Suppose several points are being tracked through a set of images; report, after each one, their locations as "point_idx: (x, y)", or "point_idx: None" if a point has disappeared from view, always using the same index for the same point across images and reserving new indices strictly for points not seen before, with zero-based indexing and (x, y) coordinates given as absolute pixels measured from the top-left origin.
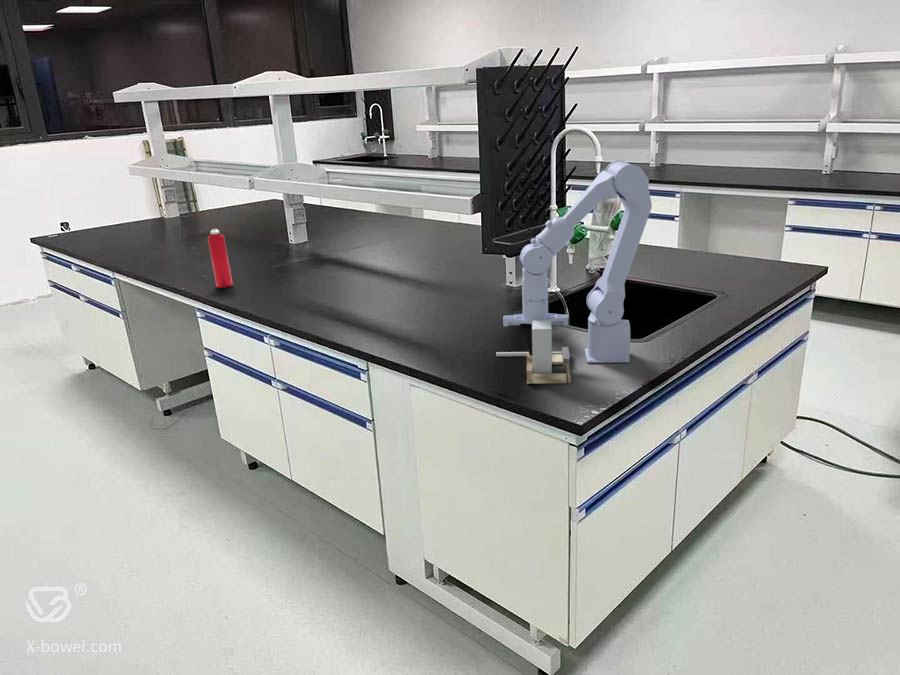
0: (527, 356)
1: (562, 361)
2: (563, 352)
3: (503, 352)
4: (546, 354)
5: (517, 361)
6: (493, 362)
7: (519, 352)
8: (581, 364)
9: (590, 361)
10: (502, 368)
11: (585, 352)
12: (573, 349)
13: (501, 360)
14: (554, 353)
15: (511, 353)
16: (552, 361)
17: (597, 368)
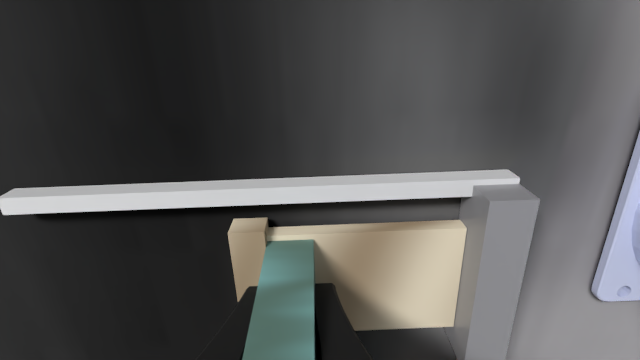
0: (238, 292)
1: (451, 323)
2: (482, 289)
3: (51, 202)
4: None
5: (183, 271)
6: (41, 287)
7: (169, 198)
8: (549, 300)
9: (611, 300)
10: (121, 352)
11: (634, 166)
12: (568, 68)
13: (80, 260)
14: (417, 196)
15: (115, 210)
16: (393, 322)
17: (615, 340)
